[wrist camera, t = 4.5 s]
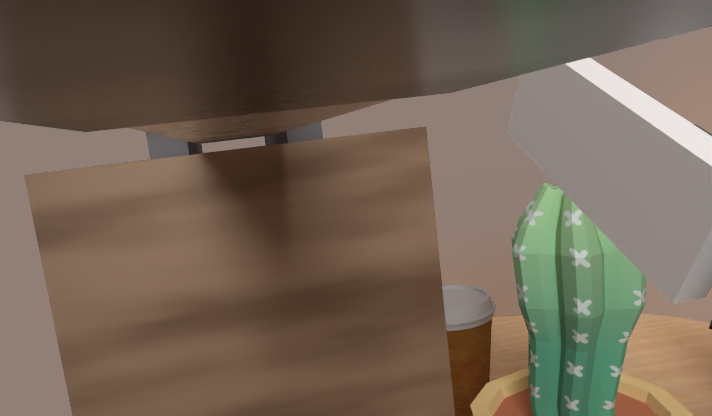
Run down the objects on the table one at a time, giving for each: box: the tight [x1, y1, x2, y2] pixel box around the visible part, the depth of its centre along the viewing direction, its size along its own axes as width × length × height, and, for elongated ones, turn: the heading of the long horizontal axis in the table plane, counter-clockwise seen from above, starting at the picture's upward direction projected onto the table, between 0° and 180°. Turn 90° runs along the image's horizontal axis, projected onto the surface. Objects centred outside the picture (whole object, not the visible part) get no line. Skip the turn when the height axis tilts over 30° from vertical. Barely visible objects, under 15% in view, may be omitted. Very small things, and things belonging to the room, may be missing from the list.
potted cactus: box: [470, 183, 693, 416], centre depth 40 cm, size 15×15×25 cm
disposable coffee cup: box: [442, 285, 496, 416], centre depth 58 cm, size 10×10×12 cm
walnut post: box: [25, 121, 455, 416], centre depth 32 cm, size 18×16×35 cm
